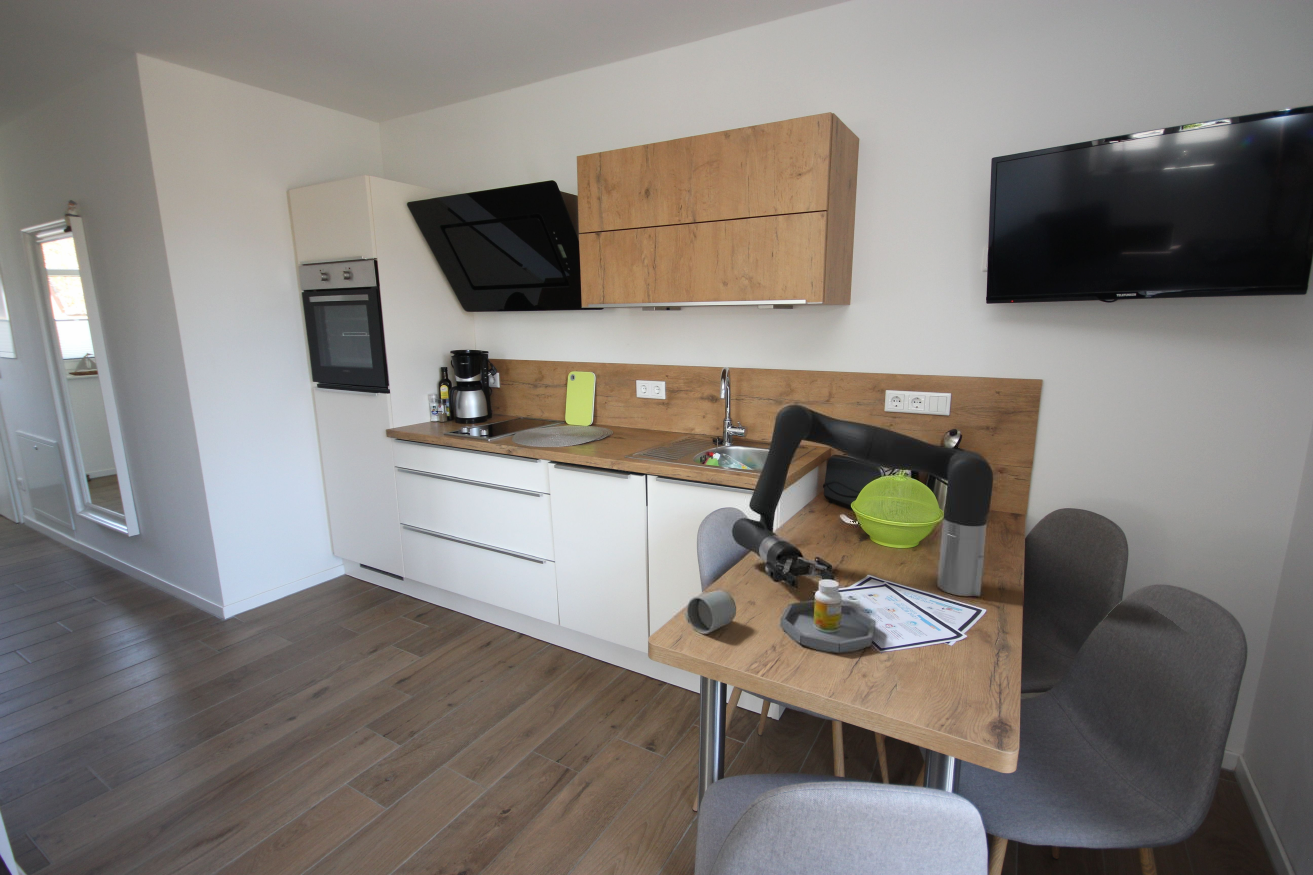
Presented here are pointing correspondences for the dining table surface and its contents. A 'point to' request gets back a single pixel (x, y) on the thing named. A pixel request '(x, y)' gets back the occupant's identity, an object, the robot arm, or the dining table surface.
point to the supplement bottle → (827, 607)
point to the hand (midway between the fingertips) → (814, 582)
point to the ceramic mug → (710, 611)
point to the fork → (847, 519)
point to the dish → (848, 639)
